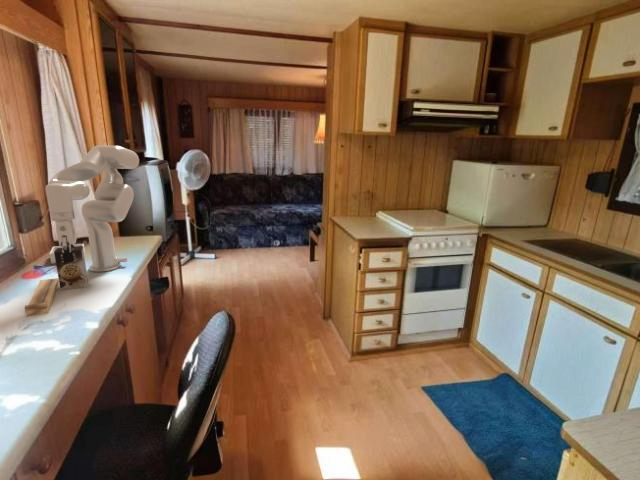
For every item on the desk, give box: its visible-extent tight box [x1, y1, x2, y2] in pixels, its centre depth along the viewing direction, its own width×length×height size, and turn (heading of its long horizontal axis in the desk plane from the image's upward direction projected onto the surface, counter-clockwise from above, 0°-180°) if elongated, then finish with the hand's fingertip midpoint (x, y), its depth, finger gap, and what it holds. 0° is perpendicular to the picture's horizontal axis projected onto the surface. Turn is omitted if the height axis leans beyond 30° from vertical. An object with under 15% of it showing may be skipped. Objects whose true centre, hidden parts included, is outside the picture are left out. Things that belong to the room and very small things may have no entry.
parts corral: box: [49, 243, 86, 265], centre depth 176 cm, size 13×12×5 cm
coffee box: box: [54, 246, 89, 291], centre depth 143 cm, size 9×6×16 cm
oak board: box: [23, 277, 60, 318], centre depth 134 cm, size 6×30×4 cm, turn 29°
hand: (70, 258), depth 142 cm, fingers open, 7 cm apart
